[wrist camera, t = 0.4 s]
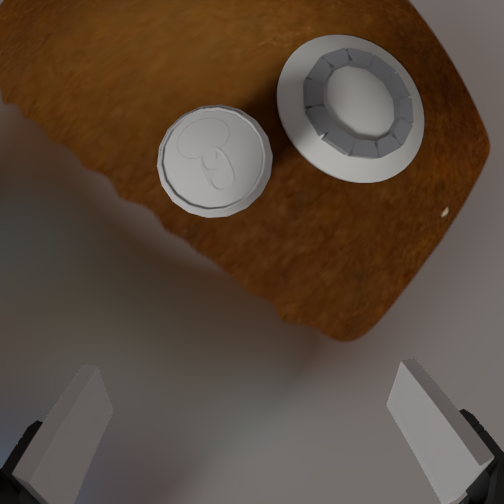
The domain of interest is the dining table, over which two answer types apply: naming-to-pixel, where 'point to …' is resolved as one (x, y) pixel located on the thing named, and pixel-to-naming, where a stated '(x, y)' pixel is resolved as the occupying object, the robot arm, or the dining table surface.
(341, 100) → the round tray
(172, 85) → the dining table surface
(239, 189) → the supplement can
